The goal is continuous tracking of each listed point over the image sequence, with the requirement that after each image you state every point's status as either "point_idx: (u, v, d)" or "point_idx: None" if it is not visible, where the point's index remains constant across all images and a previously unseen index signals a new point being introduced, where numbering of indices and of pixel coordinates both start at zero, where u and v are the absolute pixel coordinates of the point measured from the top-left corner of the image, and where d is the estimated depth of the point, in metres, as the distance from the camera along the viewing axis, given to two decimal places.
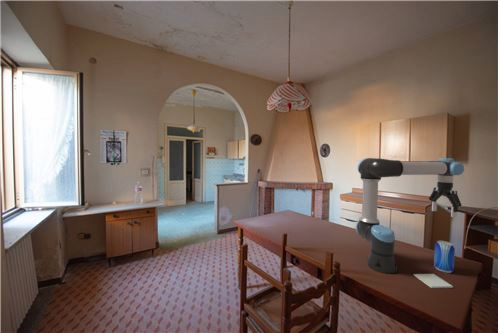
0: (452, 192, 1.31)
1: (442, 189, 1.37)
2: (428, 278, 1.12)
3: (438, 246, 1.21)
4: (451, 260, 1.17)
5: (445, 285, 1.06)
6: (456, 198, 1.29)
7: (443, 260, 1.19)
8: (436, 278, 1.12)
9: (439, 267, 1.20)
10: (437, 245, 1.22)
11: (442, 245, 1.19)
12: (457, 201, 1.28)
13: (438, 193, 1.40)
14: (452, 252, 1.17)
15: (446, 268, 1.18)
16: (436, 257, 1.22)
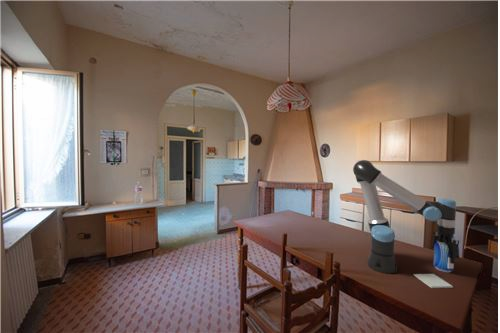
0: (453, 242, 1.15)
1: (442, 234, 1.21)
2: (428, 278, 1.12)
3: (437, 246, 1.21)
4: None
5: (445, 285, 1.06)
6: (456, 249, 1.14)
7: (443, 260, 1.19)
8: (436, 278, 1.12)
9: (438, 267, 1.21)
10: (436, 245, 1.22)
11: (441, 245, 1.20)
12: (456, 252, 1.14)
13: (439, 239, 1.23)
14: None
15: (446, 267, 1.18)
16: (435, 257, 1.22)
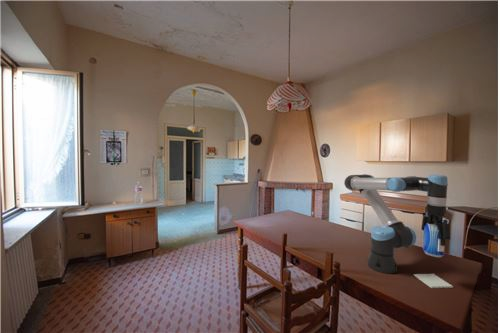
0: (444, 221, 1.03)
1: (433, 214, 1.09)
2: (428, 278, 1.12)
3: (427, 228, 1.10)
4: None
5: (445, 285, 1.06)
6: (446, 229, 1.02)
7: (432, 243, 1.07)
8: (436, 278, 1.12)
9: (427, 251, 1.09)
10: (426, 227, 1.10)
11: (431, 226, 1.08)
12: (446, 233, 1.02)
13: (429, 219, 1.10)
14: None
15: (435, 252, 1.07)
16: (425, 240, 1.11)
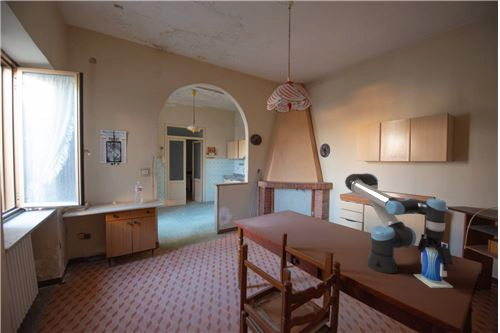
0: (443, 246, 1.03)
1: (431, 238, 1.10)
2: None
3: (425, 253, 1.11)
4: (439, 268, 1.07)
5: (445, 285, 1.06)
6: (447, 254, 1.02)
7: (430, 268, 1.08)
8: None
9: (426, 276, 1.10)
10: (424, 252, 1.11)
11: (429, 252, 1.09)
12: (448, 258, 1.01)
13: (427, 242, 1.12)
14: (440, 260, 1.06)
15: (433, 277, 1.07)
16: (423, 265, 1.12)
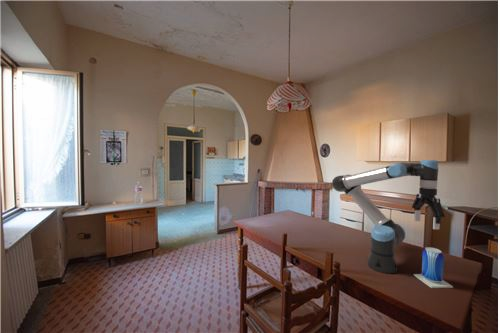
0: (434, 200, 1.11)
1: (425, 196, 1.17)
2: None
3: (425, 253, 1.11)
4: (439, 269, 1.07)
5: (445, 285, 1.06)
6: (438, 207, 1.09)
7: (430, 269, 1.08)
8: None
9: (426, 276, 1.10)
10: (424, 252, 1.11)
11: (429, 252, 1.09)
12: (439, 211, 1.08)
13: (420, 201, 1.20)
14: (440, 260, 1.06)
15: (433, 277, 1.07)
16: (423, 265, 1.12)
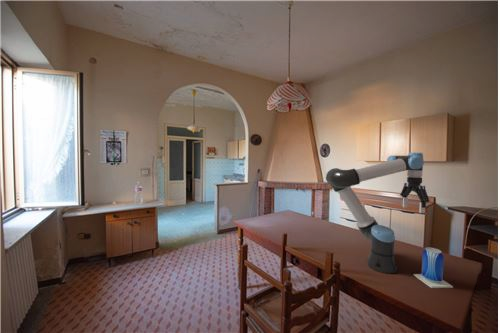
0: (420, 187, 1.27)
1: (412, 184, 1.33)
2: None
3: (425, 253, 1.11)
4: (439, 269, 1.07)
5: (445, 285, 1.06)
6: (424, 193, 1.25)
7: (430, 269, 1.08)
8: None
9: (426, 276, 1.10)
10: (424, 252, 1.11)
11: (429, 252, 1.09)
12: (425, 196, 1.24)
13: (408, 188, 1.36)
14: (440, 260, 1.06)
15: (433, 277, 1.07)
16: (423, 265, 1.12)
